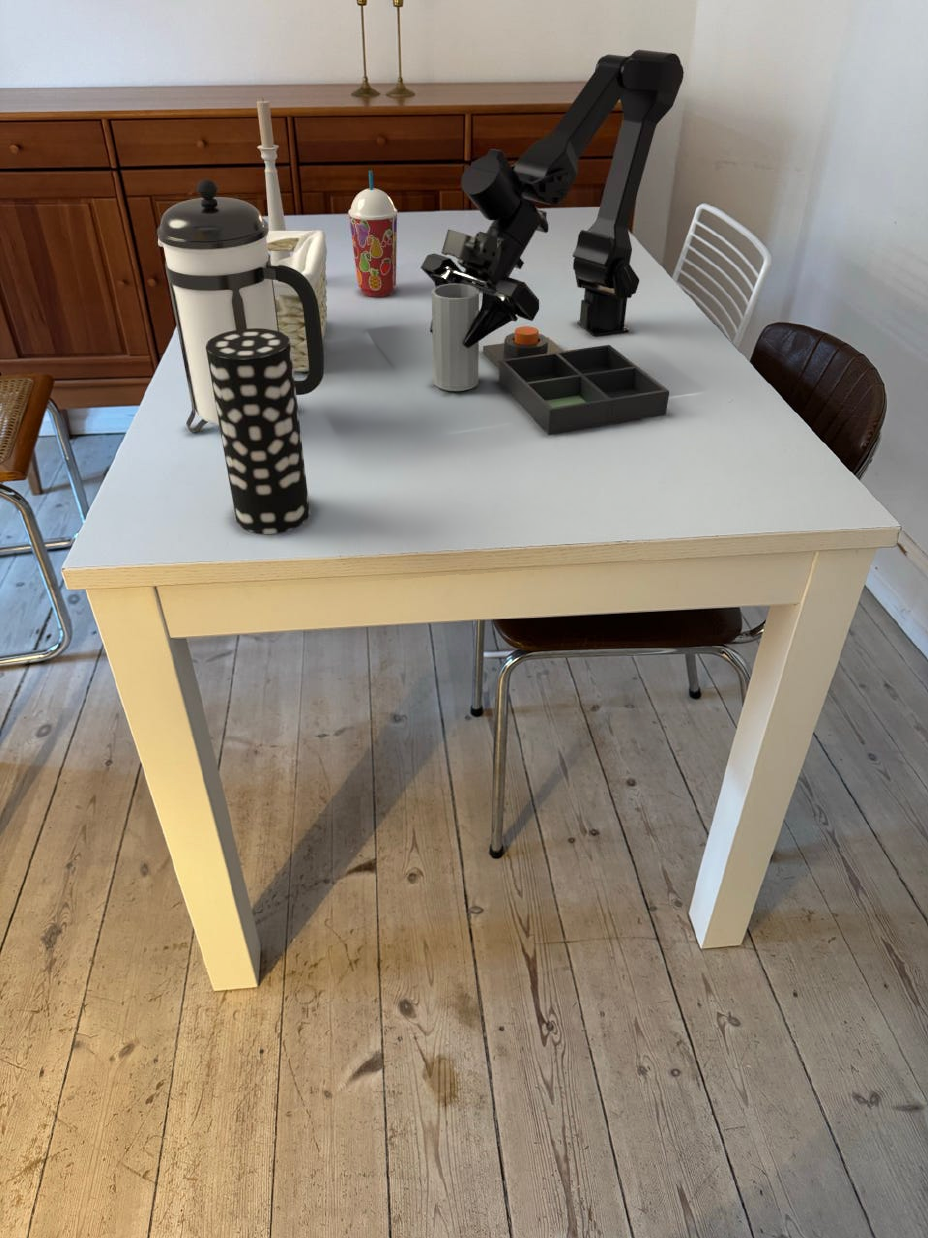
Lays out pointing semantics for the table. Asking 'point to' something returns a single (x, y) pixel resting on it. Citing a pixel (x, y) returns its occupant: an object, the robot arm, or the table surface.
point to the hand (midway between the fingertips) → (448, 339)
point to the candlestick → (271, 176)
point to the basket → (288, 304)
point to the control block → (519, 349)
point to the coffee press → (226, 286)
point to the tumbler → (454, 336)
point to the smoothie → (374, 240)
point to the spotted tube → (260, 428)
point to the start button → (526, 335)
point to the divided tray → (582, 388)
